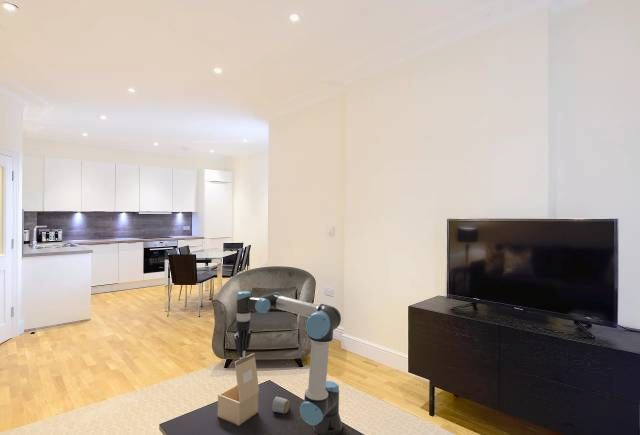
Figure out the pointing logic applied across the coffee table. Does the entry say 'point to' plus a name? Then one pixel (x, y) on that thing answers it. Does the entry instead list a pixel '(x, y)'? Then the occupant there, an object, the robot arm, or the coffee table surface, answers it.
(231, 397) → the carton
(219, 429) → the coffee table surface
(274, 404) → the ceramic mug
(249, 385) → the carton lid
